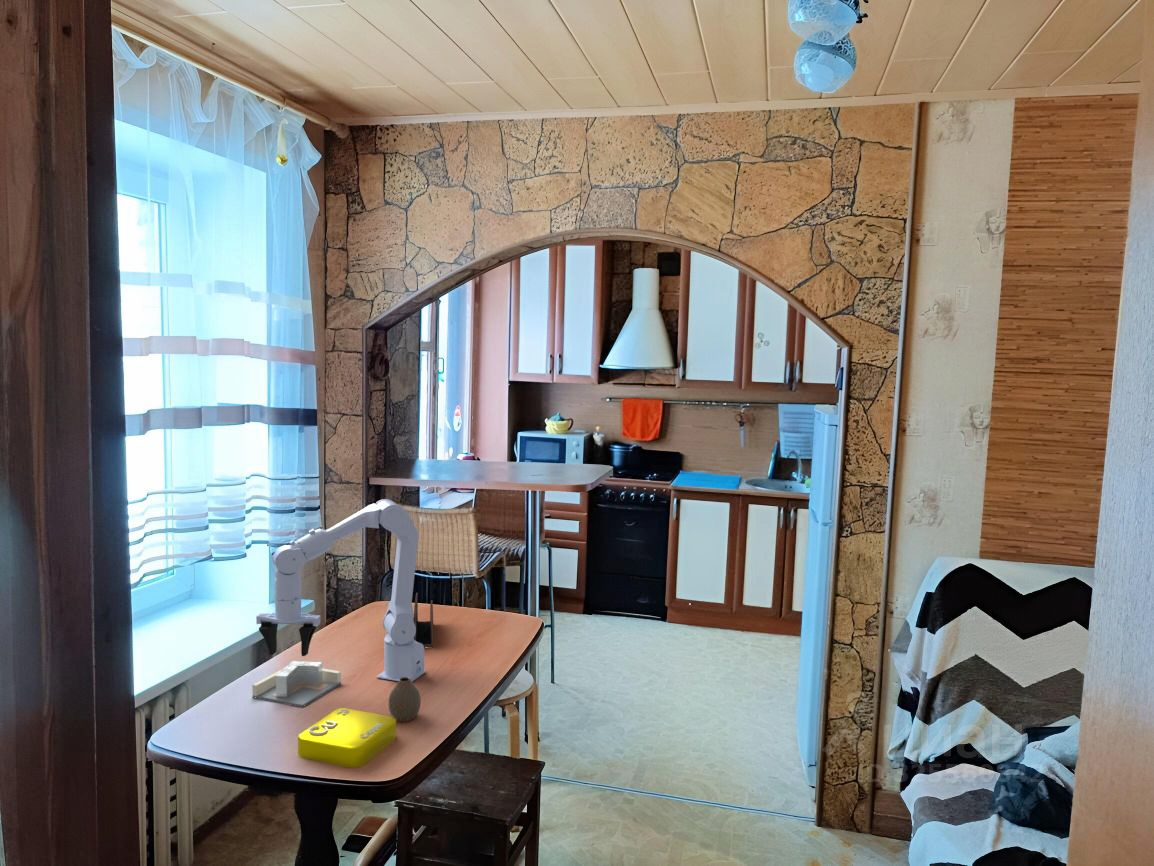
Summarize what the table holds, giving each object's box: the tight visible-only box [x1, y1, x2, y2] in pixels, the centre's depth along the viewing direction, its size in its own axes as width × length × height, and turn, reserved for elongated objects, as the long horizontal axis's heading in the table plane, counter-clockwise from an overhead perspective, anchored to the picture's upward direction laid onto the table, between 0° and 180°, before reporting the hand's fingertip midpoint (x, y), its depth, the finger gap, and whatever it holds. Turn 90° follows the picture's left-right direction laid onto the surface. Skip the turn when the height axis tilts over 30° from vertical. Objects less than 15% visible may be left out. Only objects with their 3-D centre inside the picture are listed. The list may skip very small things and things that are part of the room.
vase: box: [388, 677, 422, 722], centre depth 170 cm, size 7×7×9 cm
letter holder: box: [413, 592, 434, 649], centre depth 221 cm, size 10×20×14 cm, turn 10°
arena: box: [251, 667, 342, 708], centre depth 183 cm, size 14×14×3 cm
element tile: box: [297, 707, 397, 769], centre depth 157 cm, size 15×15×5 cm
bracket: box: [276, 660, 323, 697], centre depth 182 cm, size 9×8×5 cm
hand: (288, 654), depth 181 cm, fingers open, 7 cm apart
